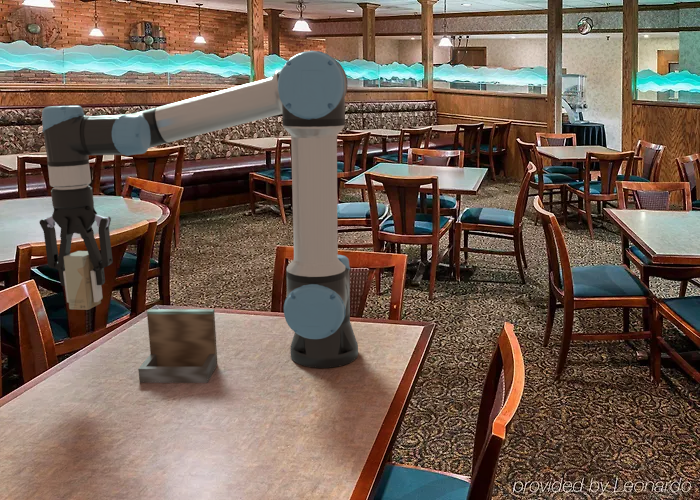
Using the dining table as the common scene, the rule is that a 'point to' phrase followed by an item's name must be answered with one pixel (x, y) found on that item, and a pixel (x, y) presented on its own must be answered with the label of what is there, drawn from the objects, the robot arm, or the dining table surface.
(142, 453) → the dining table surface
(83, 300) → the box
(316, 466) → the dining table surface
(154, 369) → the cleat board
